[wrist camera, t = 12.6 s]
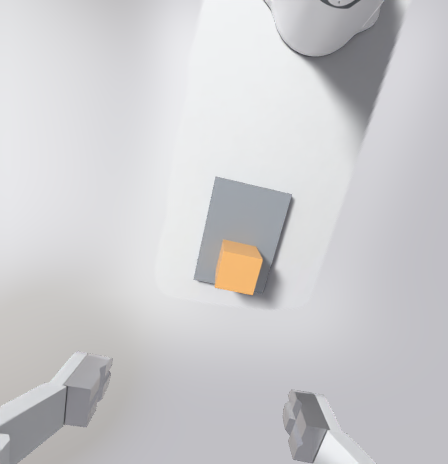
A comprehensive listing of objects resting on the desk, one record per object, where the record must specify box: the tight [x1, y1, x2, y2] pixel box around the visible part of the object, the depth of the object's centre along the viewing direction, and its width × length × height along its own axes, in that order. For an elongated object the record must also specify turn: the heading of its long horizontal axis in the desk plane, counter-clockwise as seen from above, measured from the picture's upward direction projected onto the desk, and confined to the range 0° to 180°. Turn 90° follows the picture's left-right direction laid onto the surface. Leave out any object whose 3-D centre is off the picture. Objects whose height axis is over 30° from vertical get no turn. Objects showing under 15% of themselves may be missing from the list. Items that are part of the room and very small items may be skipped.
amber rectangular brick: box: [215, 239, 263, 295], centre depth 40 cm, size 6×6×7 cm
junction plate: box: [194, 177, 292, 294], centre depth 41 cm, size 20×14×6 cm
